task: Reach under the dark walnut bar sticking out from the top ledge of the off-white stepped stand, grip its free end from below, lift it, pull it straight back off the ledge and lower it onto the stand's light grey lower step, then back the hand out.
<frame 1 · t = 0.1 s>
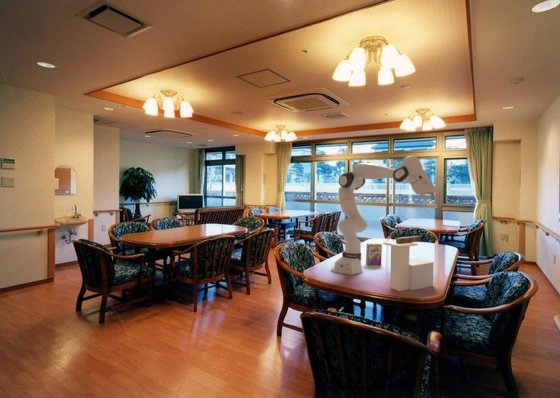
hand: (430, 200, 187), 54 cm above the table, tool tilted 30°, fingers open, 8 cm apart
candy bar box: (373, 264, 254), on the table
walnut bar: (408, 242, 196), point 28 cm above the table, touching stepped stand
stepped stand: (399, 288, 194), on the table
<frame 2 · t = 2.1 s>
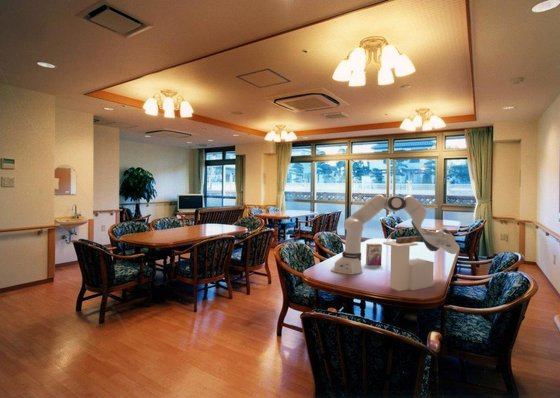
hand: (430, 231, 205), 34 cm above the table, tool pointing upward, fingers open, 8 cm apart
nothing on the table moved.
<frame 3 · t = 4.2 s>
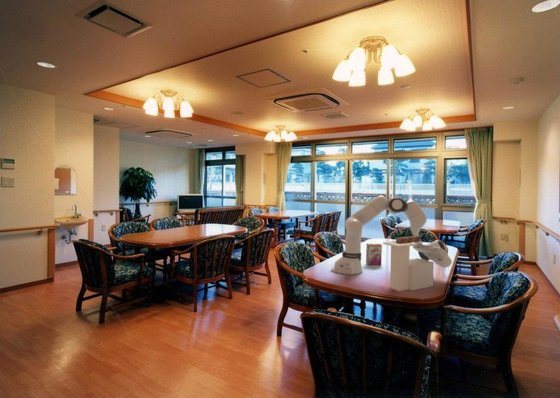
hand: (421, 244, 202), 25 cm above the table, tool pointing upward, fingers open, 8 cm apart
nothing on the table moved.
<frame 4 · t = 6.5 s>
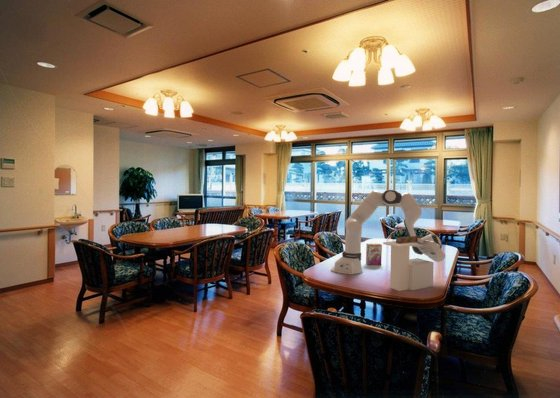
hand: (414, 238, 198), 30 cm above the table, tool pointing upward, fingers closed on walnut bar, 3 cm apart
walnut bar: (408, 242, 196), point 28 cm above the table, touching gripper, stepped stand
everything else where it was.
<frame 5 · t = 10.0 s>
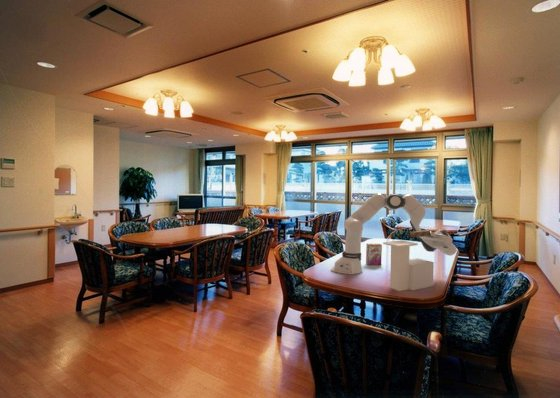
hand: (427, 232, 204), 33 cm above the table, tool pointing upward, fingers closed on walnut bar, 3 cm apart
walnut bar: (421, 235, 201), point 31 cm above the table, touching gripper
everything else where it was.
when the fingers open (19 cm above the table, at t = 13.5 s): walnut bar drops 3 cm, resting on stepped stand.
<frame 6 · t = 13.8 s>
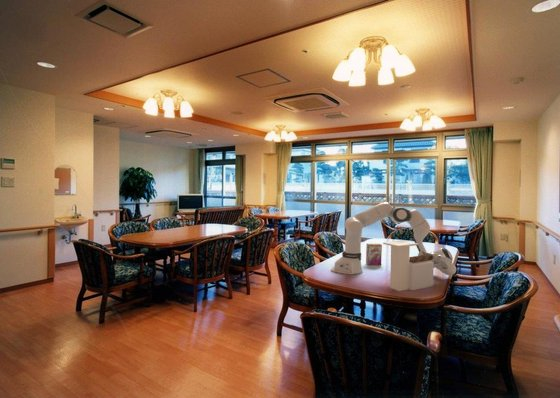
hand: (426, 253, 204), 19 cm above the table, tool pointing upward, fingers open, 6 cm apart
walnut bar: (421, 260, 202), point 15 cm above the table, touching stepped stand
everything else where it was.
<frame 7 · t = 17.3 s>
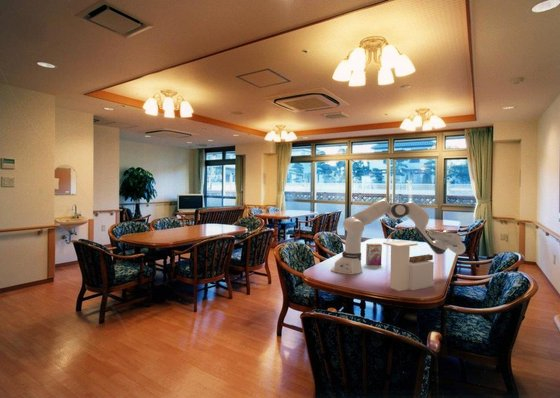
hand: (437, 231, 208), 33 cm above the table, tool pointing upward, fingers open, 8 cm apart
nothing on the table moved.
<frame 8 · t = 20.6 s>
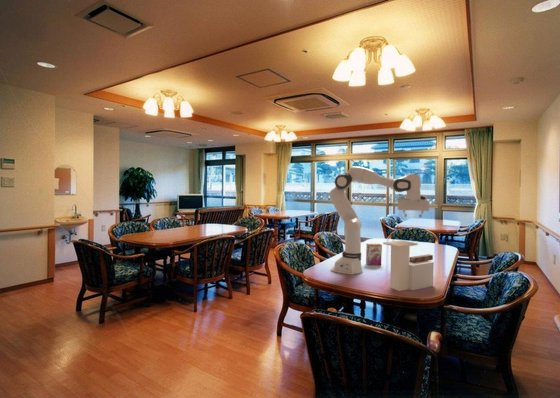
hand: (412, 217, 220), 41 cm above the table, tool pointing down, fingers open, 8 cm apart
nothing on the table moved.
at the end: walnut bar inside the target area on the stepped stand (0.2 cm from its centre), point 15.0 cm above the stepped stand's base; the gripper is holding nothing; walnut bar tilted 0° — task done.
